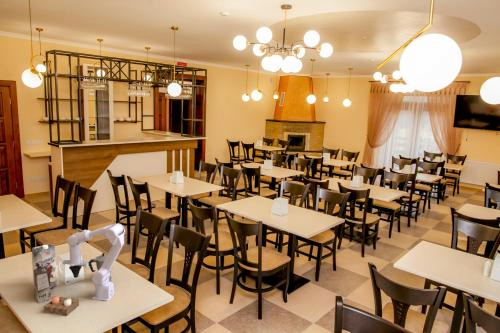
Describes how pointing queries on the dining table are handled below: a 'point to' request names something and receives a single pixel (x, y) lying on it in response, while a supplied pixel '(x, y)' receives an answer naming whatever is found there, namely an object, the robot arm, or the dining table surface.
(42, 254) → the juice carton
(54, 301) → the rust plug
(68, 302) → the cream plug
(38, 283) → the coffee box
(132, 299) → the dining table surface
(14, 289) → the dining table surface
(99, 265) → the coffeepot
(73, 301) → the socket board
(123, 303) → the dining table surface
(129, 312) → the dining table surface
